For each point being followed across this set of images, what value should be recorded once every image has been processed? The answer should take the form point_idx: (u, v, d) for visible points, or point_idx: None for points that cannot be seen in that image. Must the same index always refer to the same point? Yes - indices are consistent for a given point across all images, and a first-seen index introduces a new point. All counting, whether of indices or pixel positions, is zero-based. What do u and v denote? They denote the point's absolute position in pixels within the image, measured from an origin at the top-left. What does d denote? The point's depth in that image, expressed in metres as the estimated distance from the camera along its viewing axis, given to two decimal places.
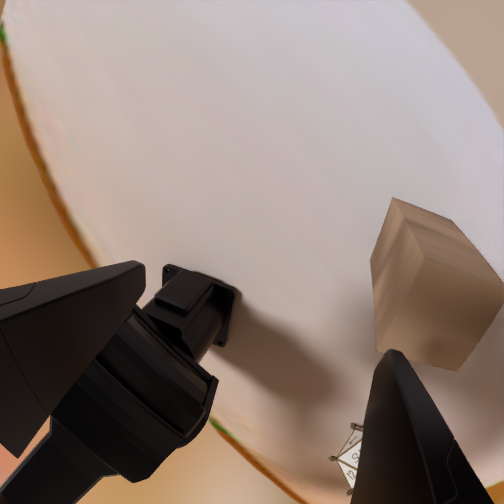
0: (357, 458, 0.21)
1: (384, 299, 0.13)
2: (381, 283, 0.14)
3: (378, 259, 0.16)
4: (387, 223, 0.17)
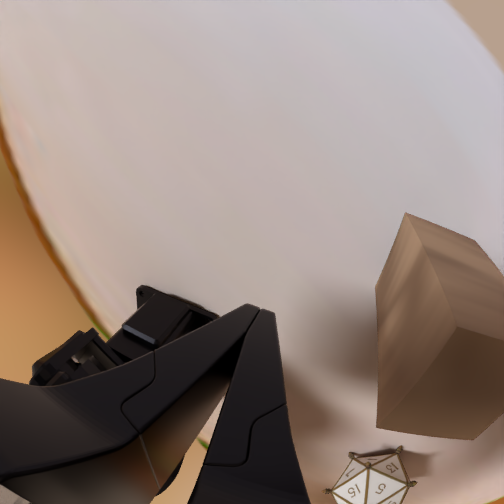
0: (353, 493, 0.17)
1: (392, 357, 0.09)
2: (389, 329, 0.11)
3: (386, 292, 0.13)
4: (398, 246, 0.13)
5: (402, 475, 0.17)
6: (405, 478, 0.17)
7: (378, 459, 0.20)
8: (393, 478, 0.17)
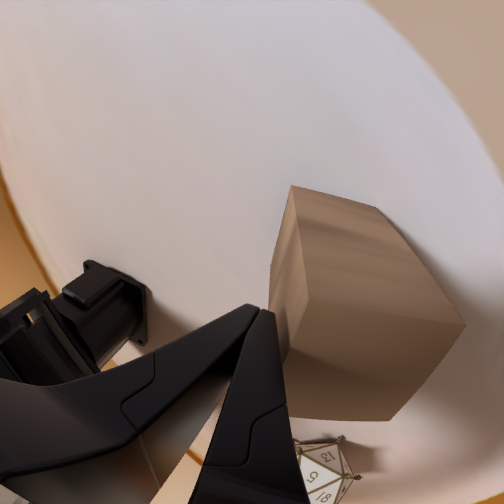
0: None
1: None
2: (273, 308, 0.11)
3: (274, 269, 0.13)
4: (284, 220, 0.14)
5: (338, 465, 0.19)
6: (341, 469, 0.18)
7: (315, 447, 0.21)
8: (327, 468, 0.18)
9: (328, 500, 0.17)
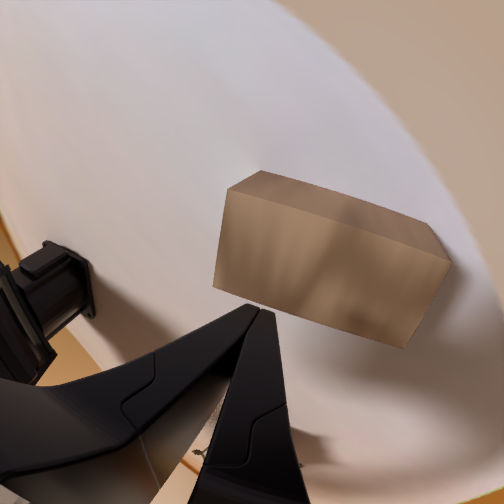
0: None
1: (368, 314, 0.11)
2: (330, 304, 0.12)
3: (269, 283, 0.12)
4: (248, 231, 0.11)
5: None
6: None
7: None
8: None
9: None
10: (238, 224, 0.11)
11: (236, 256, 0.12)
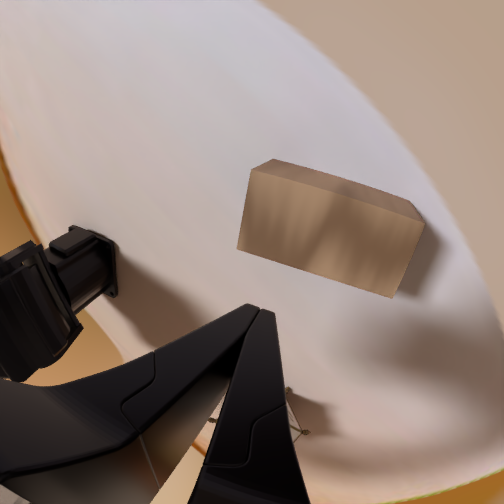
0: None
1: (361, 268, 0.15)
2: (331, 260, 0.15)
3: (282, 243, 0.15)
4: (267, 202, 0.15)
5: None
6: None
7: None
8: None
9: None
10: (259, 196, 0.15)
11: (257, 222, 0.15)
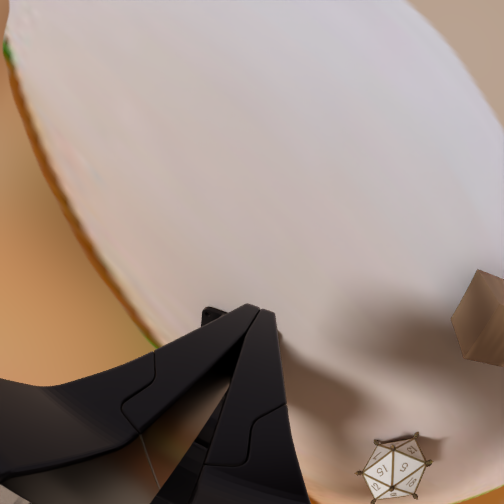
0: (381, 472, 0.21)
1: None
2: None
3: (496, 351, 0.14)
4: (499, 325, 0.13)
5: (420, 455, 0.21)
6: (423, 458, 0.20)
7: (400, 443, 0.23)
8: (413, 458, 0.21)
9: (414, 484, 0.19)
10: (496, 322, 0.13)
11: (486, 339, 0.14)
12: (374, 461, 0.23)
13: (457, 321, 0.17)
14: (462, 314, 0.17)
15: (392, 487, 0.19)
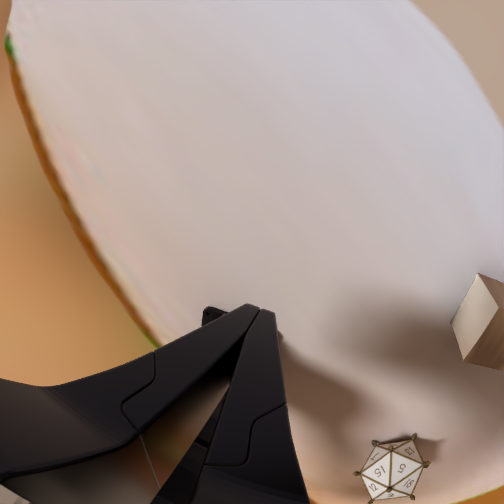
0: (379, 473, 0.21)
1: None
2: None
3: (495, 354, 0.14)
4: (498, 329, 0.13)
5: (417, 456, 0.21)
6: (420, 459, 0.21)
7: (397, 444, 0.24)
8: (411, 459, 0.21)
9: (411, 485, 0.19)
10: (496, 326, 0.13)
11: (486, 342, 0.14)
12: (372, 462, 0.23)
13: (456, 324, 0.17)
14: (462, 317, 0.17)
15: (390, 488, 0.19)
